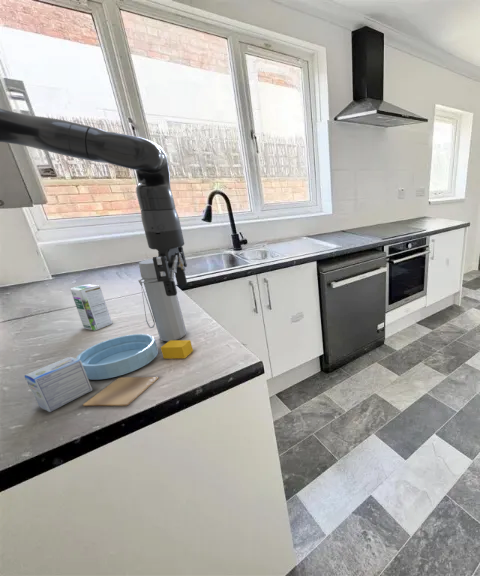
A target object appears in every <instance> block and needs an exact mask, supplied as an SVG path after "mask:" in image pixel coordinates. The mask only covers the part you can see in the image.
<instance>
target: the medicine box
mask: <svg viewBox="0 0 480 576" xmlns="http://www.w3.org/2000/svg"><path fill="white" fill-rule="evenodd" d="M24 378H25V380H26V382H27V385H28V387H29V388H30V390H31V393H32V395H33V398H34V399H35V401H36V404H37V405H38V407H39V408H41V409H42V410H45V411H46V412H48V413H51V412H54V411H55V410H57V409H59V408H61V407H63V406H65V405H67V404H69V403H71V402H73V401H74V400H76V399H78V398H80V397H83V396H84V395H86V394H88V393H90V392H92V391H93V387H92V386H91V382H90V379H88V378H87V375H86V372H85V370H84V367H83V365H82V362H81V360H78V359H76V358H75V357H71V356H67V357H65V358H62V359H60V360H58V361H55V362H52V363H50V364H47V365H45V366H43V367H41V368H38V369H36V370H34V371H31V372H29V373H26V374H24Z"/></svg>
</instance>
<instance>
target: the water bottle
mask: <svg viewBox="0 0 480 576" xmlns="http://www.w3.org/2000/svg"><path fill="white" fill-rule="evenodd" d="M138 267H139V272H140V273H139V274H140V277H141V279H138V283H139V285H140V287H141V289H142V291H141V294H142V296H144V297H145V299H144V297H142V302H143V303H145V300H146V304H147V307H148V310H149V312H150V317H151V319H152V321H153V325H150V324H149V321H148V318H147V313H146V311H144V315H145V321H146V324H147V326H148V328H149V329H153V328H154V327H155V326H156V329H157V333H158V336H159V339H160V340H161V341H163V342H168V341H170V340H180V339H182V338H184V337H185V336H186V334H187V328H186V324H185V320H184V317H183V312H182V309H181V305H180V300H179V297H178V293H177V294H176V295H175V296H167V295H166V292H165V288H164V284H163V282H158V280H157V276H156V272H155V267H154V263H153V258H149V259H145V260H141V261H139V262H138ZM160 274H161V273H160ZM165 276H166V274H165ZM143 308H144V310H146V306H145V304H143Z"/></svg>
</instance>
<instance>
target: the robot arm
mask: <svg viewBox="0 0 480 576" xmlns="http://www.w3.org/2000/svg"><path fill="white" fill-rule="evenodd" d="M0 143H5V144H13V145H19V146H24V147H29V148H33V149H37V150H41V151H45V152H49V153H53V154H57V155H60V156H66V157H70V158H74V159H79V160H84V161H90V162H95V163H102V164H110V165H114V166H118V167H120V168H121V167H122V168H126V169H130V170H134V171H135V174H136V178H137V179H136V180H137V186H136V187H135V191H136V193H135V194H136V198H137V202H138V205H139V209H140V214H141V216H140V217H141V218H140V219H141V222H142V226H143V232H144V234H145V238H146V242H147V246H148V248H149V249H150V250H156V251H157V253H158V256H154V257H153V256H152V259H153V263H154V267H155V272H156V276H157V280H158V282H163V284H164V288H165V292H166V295H167V296H175V295H176V294H177V295H178V290H177V286H187V284H188V280H187V276H186V268H187V267H188V264H187V260H186V256H185V252H184V248H183V246H185V240H184V235H183V230H182V225H181V222H180V221H181V220H180V217H179V215H178V211H177V208H176V204H175V200H174V196H173V191H172V188H171V174H170V166H169V161H168V156H167V154H166V152H165V151H164V149H163V148H162V147H161V146H160V145H159V144H158V143H156V142H153V141H152V140H149V139H146V138H143V137H140V136H135V135H130V134H124V133H119V132H113V131H107V130H104V129H101V128H99V127H94V126H90V125H85V124H81V123H77V122H73V121H69V120H64V119H58V118H53V117H47V116H46V117H45V116H38V115H30V114H25V113H21V112H20V113H19V112H15V111H11V110H8V109H4V108H1V107H0ZM160 273H161V274H160ZM165 274H166V276H165ZM176 284H177V286H176Z"/></svg>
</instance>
